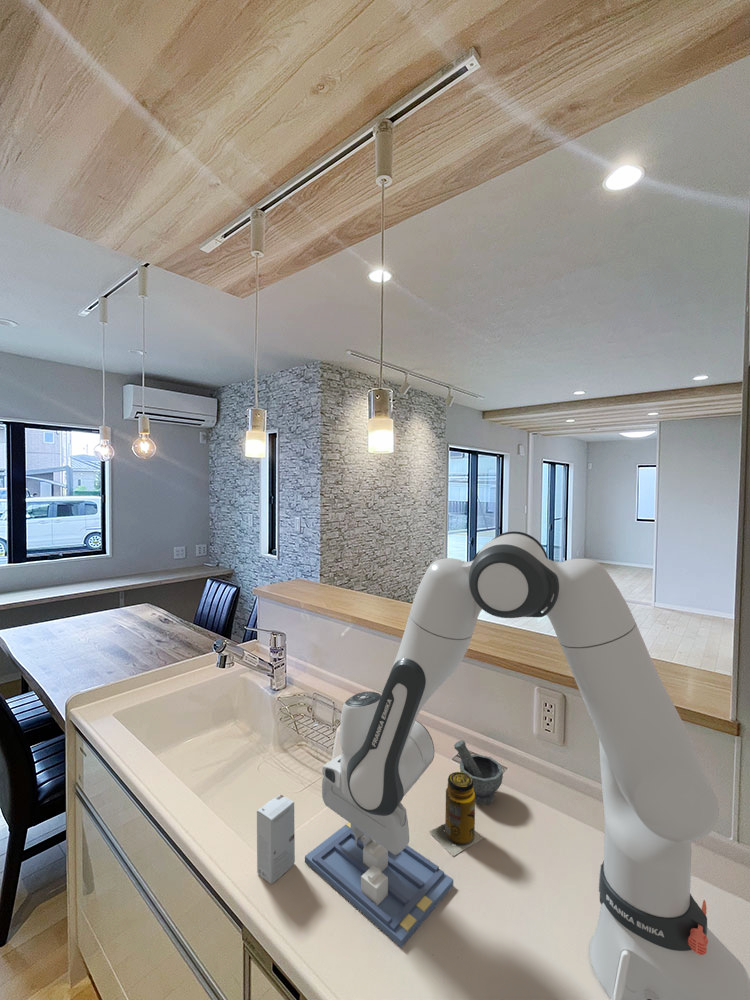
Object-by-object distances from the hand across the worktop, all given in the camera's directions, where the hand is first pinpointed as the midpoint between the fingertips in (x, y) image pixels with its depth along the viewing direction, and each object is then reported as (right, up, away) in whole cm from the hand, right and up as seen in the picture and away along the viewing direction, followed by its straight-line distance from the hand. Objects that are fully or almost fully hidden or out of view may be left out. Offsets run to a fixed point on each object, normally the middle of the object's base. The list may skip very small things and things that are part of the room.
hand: (363, 847), depth 88 cm
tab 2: (+2, -2, -8) cm, 9 cm away
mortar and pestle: (+26, -2, +19) cm, 33 cm away
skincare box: (-17, -3, -1) cm, 17 cm away
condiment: (+19, -3, +7) cm, 20 cm away
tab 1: (+2, -2, -2) cm, 4 cm away
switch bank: (+3, -3, -2) cm, 5 cm away
